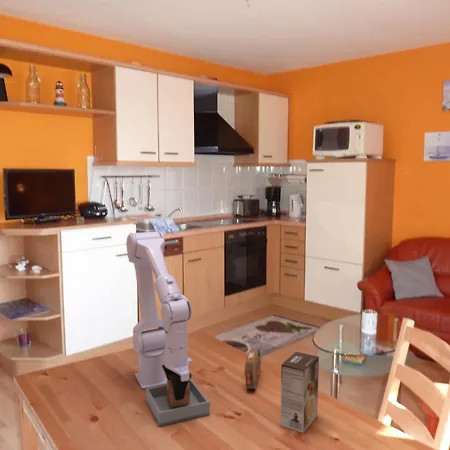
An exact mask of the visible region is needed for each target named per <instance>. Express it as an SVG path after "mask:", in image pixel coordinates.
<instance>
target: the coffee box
mask: <svg viewBox="0 0 450 450" xmlns="http://www.w3.org/2000/svg"><path fill="white" fill-rule="evenodd" d="M319 360H320V356H317V355H313V354H309V353H305V352H300V351H295V352H294V353H293V354H291V356H289V357H288V358H287V359H285V361H284V362H283V363H281V370H280V371H281V372H280V373H281V374H280V375H281V379H280V426H281V427H284V428H287V429H289V430H291V431H292V430H293V431H296V432H299V433H301V434H304V433H305V432H306V431H307V429H308V428H309V427H310V426H311V425H312V424H313V422H314V421H315V419H317V417H318V407H319V405H318V403H319V401H318V398H319V362H320V361H319Z"/></svg>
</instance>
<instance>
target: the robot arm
mask: <svg viewBox="0 0 450 450" xmlns="http://www.w3.org/2000/svg"><path fill="white" fill-rule="evenodd" d="M126 237H127V238H126V243H125V244H126V253H127V259H128V262H129V263H132V264H133V266H134V271H135V277H136V280H135V281H136V285H137V293H138V294H137V295H138V302H139V309H140V312H139V313H140V320H139V321H138V322H137V323H136V324H135V326H133V328H132V346H133V349H134V351H135V353H137V367H138V368H137V369H138V370H137V373H134V375H135V378H136V379H137V382H138V384H139V385H140V388H141V389H145V390H146V389H147V388H152V387H157V386H162V385H167V380H171V382H172V386H173V391H174V397H175V400H176V401H177V400H181V399H184V395H185V391H186V387H187V384H188V382H189V380H192V377H193V376H192V373H191V372H190V371H189V364H192V363H193V360H192V358H190V357H188V321H190V320H191V318H192V307H191V303H190V301H189V299H188V297H186V296H185V295H184V294H182V292H181V290H180V288H179V285H178V283H177V280H176V278H175V276H173V275H171V274H169V271H168V267H167V263H166V259H165V256H164V252H165V247H166V241H165V236H164V234H163V232H162V231H161V230H156V231H145V232H130V233H129V234H128V235H127V236H126ZM154 278H155V282H154ZM155 290H156V292H155ZM156 295H157V296H158V300H159V303H160V304H161V307H160V317H161V318H159V315H158V314H159V313H158V306H157V300H156Z"/></svg>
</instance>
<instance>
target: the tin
mask: <svg viewBox="0 0 450 450" xmlns="http://www.w3.org/2000/svg"><path fill="white" fill-rule="evenodd" d="M260 374H261V351H260V349H259V348H255V349H254V348H251V349H249V351H248V354H247V357H246V359H245V365H244V376H245V387H246V389H248V390H249V389H251V390H252V389H253V390H256V389H257V386H258V383H259V380H260V379H259V378H260V376H261V375H260Z"/></svg>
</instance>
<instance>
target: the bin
mask: <svg viewBox="0 0 450 450" xmlns="http://www.w3.org/2000/svg"><path fill="white" fill-rule="evenodd" d="M189 383H190V404H186V405H182V406H177V407H172V408H171V406H170V405H169V403H168V401H167V384H165V385H160V386H155V387H150V388H145V402H146V404H147V407H148V408H149V411H150V412H151V413H152V416H153V418H154V419H155V421H156V423H157V425H158V427H159V428H160V427H165V426H170V425H174V424H178V423H181V422H186V421H189V420H193V419H194V420H195V419H198V418H203V417H208V416H210V415H211V413H210V412H211V409H210V408H211V406H210V405H211V402H210V400H208V398H207V397H206V395H205V394H204V393H203V391H202V390H201V389H200V387H198V385H197V384H196V383H195V382H194V379H190V380H189Z"/></svg>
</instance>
